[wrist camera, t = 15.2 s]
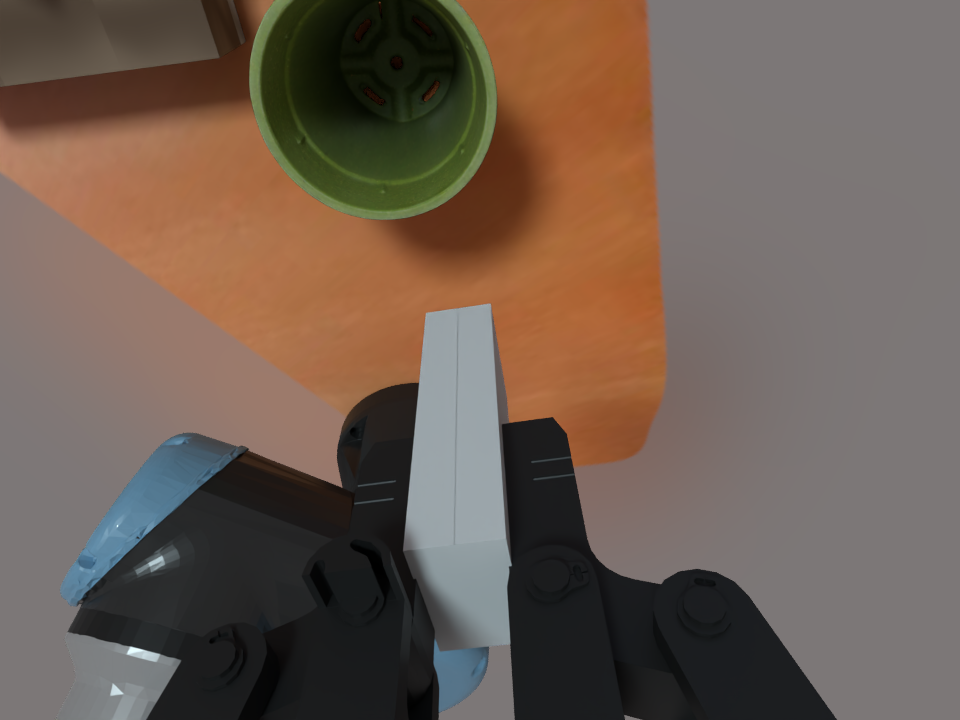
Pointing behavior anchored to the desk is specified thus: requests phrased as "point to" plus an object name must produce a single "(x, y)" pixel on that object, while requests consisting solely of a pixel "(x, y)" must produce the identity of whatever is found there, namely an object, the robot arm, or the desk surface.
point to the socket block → (110, 36)
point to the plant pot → (357, 118)
